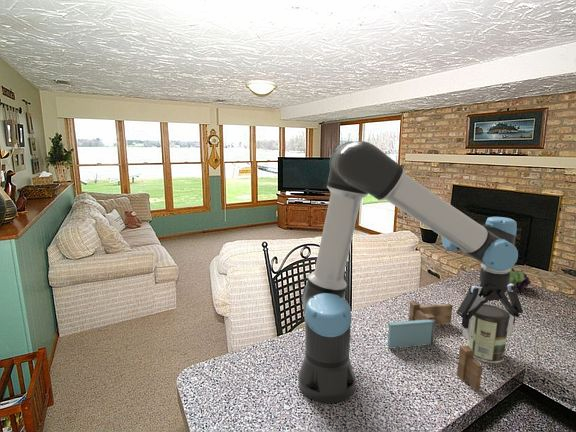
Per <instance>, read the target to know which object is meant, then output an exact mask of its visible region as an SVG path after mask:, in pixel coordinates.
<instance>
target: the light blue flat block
mask: <svg viewBox="0 0 576 432" xmlns="http://www.w3.org/2000/svg"><path fill="white" fill-rule="evenodd" d="M387 325H388V330H387V331H388V333H387V334H388V335H387V347H388V348H389V349H394V348H395V349H396V348H402V347H403V348H405V347H416V346H426V345H427V346H428V345H434V339H435V328H436V325H435V320H433V319H428V320H415V321H409V320H403V321H392V322H390V321H389V322H388V323H387Z"/></svg>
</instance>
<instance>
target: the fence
mask: <svg viewBox="0 0 576 432" xmlns="http://www.w3.org/2000/svg"><path fill="white" fill-rule="evenodd" d="M452 312H453V304H451V303H444V304H431V305H421V304H420V303H419V302H418V301H410V302H409V313H408V321H415V320H428V319H433V320H435V326H436V325H445V324H446V325H447V324H448V325H449V324H451V323H452V316H453V315H452ZM458 351H459V352H458V362H457V371H456V376H457V378H458V379H460V380H461V381H462V382H467V383H468V385H469V386H470V387H472V389H474V391H480V390H481V388H480V387H481V380H482V375H483V374H482V373H483V365H482V364H481V363H480V362H479V361H478V360H477V359H476V358H474V357H473V354H474V350H472V349H471V348H470V347H469V346H467V345H462V346H461V345H460V347H459V350H458Z"/></svg>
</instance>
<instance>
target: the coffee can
mask: <svg viewBox="0 0 576 432" xmlns="http://www.w3.org/2000/svg"><path fill="white" fill-rule="evenodd" d="M471 319H473V324H472V332H471V340H468V339H467V342H466V346H469V347H470V348H471V349H472V350H474V354H473V358H474V359H475V360H477V361H478V360H479V361H480V362H484V363H487V364H488V363H489V364H500V363H503V362H504V360H505V353H506V352H505V351H506V343H507V337H508V335H507V331H508V324H509V319H510V314H509V312H508V311H507V310H506V309H503V308H501V307H499V306H496V305H491V304H488V303H484V304H483V305H482V306H481V307H480V308H479V310H478V311H477V312H476V313H475V314H474V315H473V316H472V317H471Z"/></svg>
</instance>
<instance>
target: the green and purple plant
mask: <svg viewBox="0 0 576 432" xmlns="http://www.w3.org/2000/svg"><path fill="white" fill-rule="evenodd" d="M509 273H510V280H509V283H511V284H514V285H515V286H517V292H518V291H519V290H524V289H525V288H528V286H529V285H530V284H531V282H532V281H531V280H530V277H528V276H527V274H525V271H520V270H514V268H513V267H511V271H510V272H509Z"/></svg>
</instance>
